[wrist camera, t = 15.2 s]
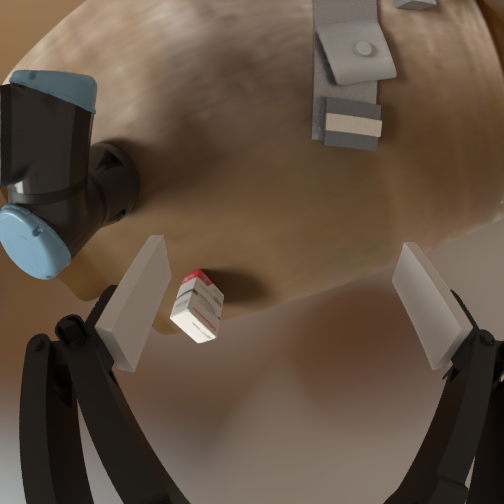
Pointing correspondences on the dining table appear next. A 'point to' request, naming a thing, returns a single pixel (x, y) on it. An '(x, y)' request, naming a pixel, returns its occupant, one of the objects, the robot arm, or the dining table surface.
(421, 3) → the block
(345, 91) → the rail
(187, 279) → the ink box
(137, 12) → the dining table surface
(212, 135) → the dining table surface
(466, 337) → the robot arm
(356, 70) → the grey cover with knob
